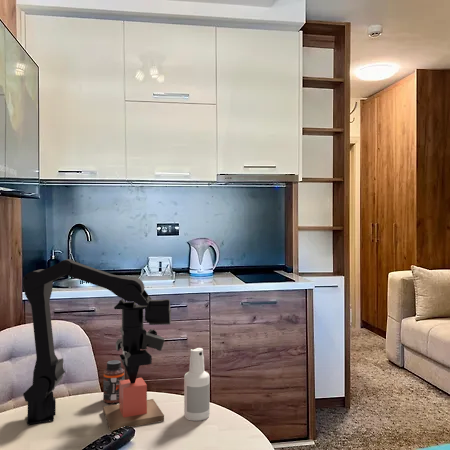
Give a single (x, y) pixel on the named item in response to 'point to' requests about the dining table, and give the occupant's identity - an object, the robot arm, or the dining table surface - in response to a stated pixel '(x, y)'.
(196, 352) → the spray bottle
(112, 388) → the supplement bottle
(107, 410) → the board
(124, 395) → the salmon foam cube
